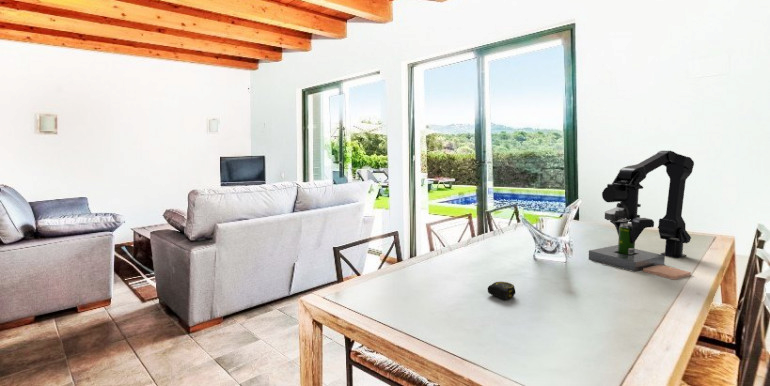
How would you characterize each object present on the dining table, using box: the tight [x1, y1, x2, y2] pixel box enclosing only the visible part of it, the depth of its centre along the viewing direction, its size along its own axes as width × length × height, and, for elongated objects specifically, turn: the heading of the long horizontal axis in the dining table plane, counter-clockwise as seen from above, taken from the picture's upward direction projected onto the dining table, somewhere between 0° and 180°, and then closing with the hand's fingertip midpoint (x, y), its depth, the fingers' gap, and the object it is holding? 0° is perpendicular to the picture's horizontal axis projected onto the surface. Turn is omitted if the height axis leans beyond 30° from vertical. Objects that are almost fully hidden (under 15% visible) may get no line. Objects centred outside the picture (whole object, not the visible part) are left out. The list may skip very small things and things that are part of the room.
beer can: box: [617, 222, 636, 256], centre depth 149 cm, size 5×5×12 cm
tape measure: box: [487, 281, 516, 301], centre depth 117 cm, size 7×7×4 cm
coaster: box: [642, 265, 692, 281], centre depth 136 cm, size 10×10×1 cm
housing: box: [588, 244, 666, 273], centre depth 150 cm, size 18×18×4 cm
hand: (626, 241), depth 149 cm, fingers closed on beer can, 5 cm apart
